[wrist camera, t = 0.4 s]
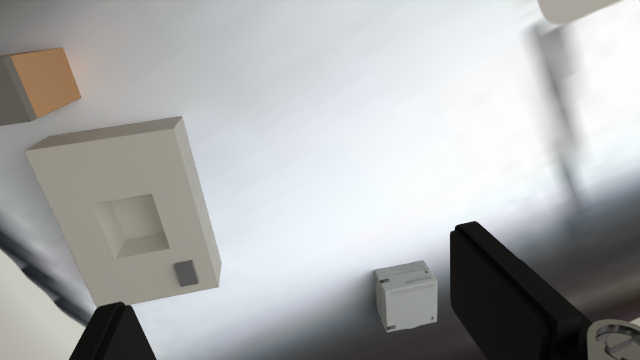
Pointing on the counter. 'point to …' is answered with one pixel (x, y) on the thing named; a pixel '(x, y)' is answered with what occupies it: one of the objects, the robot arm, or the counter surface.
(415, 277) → the small box
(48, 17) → the counter surface
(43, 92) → the two-tone square block
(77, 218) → the socket plate
